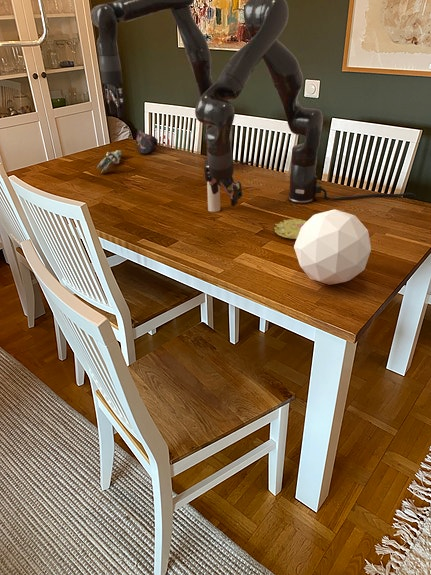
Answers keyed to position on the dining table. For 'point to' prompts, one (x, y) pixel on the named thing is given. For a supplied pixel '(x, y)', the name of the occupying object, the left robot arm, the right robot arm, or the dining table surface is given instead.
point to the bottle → (213, 199)
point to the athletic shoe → (146, 142)
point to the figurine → (110, 160)
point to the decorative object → (290, 228)
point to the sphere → (333, 247)
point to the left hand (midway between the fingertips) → (117, 115)
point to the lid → (206, 161)
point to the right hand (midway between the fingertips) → (224, 198)
